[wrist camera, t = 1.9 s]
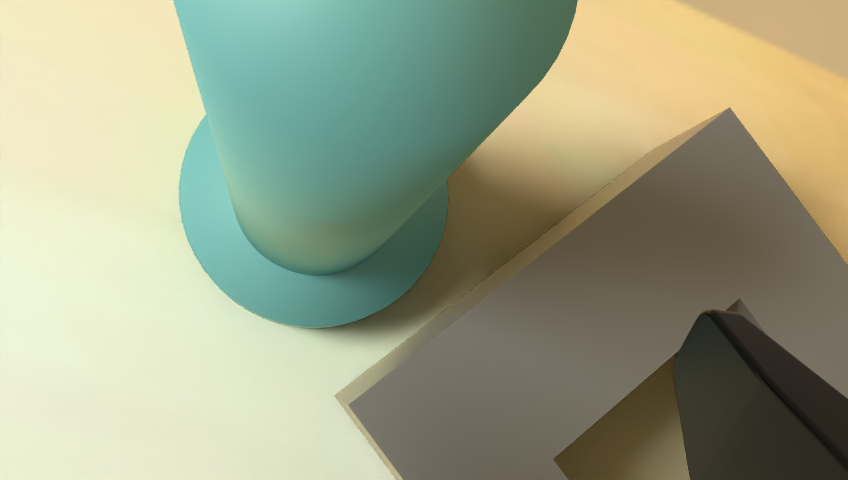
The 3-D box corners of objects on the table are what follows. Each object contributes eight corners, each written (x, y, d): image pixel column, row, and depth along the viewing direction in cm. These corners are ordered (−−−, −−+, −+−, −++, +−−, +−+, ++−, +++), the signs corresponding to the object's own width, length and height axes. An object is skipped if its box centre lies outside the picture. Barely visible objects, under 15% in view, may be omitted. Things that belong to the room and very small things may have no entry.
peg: (453, 312, 20) (741, 242, 8) (197, 343, 19) (45, 320, 7) (422, 73, 21) (638, -344, 9) (173, 88, 20) (-3, -374, 7)
